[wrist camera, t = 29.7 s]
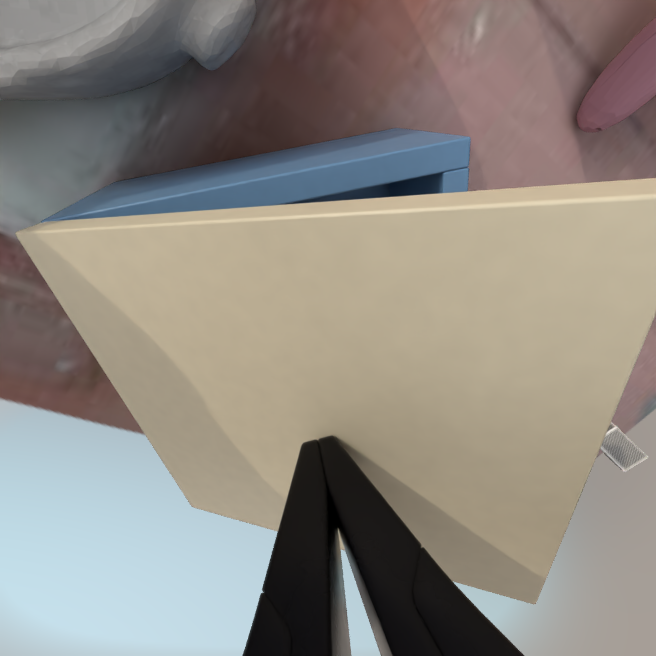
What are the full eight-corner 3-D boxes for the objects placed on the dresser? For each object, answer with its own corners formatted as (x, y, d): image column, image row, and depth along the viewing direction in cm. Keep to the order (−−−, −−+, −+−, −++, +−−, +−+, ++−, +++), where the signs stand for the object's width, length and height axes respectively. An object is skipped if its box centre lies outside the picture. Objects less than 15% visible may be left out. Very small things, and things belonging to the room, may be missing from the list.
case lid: (678, 174, 5) (710, 191, 4) (532, 576, 11) (536, 606, 10) (44, 221, 9) (12, 232, 8) (202, 489, 15) (191, 507, 15)
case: (398, 127, 15) (471, 136, 10) (406, 350, 21) (453, 422, 16) (113, 182, 14) (38, 221, 9) (211, 397, 20) (198, 488, 15)
